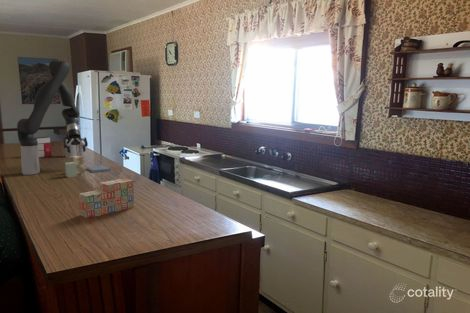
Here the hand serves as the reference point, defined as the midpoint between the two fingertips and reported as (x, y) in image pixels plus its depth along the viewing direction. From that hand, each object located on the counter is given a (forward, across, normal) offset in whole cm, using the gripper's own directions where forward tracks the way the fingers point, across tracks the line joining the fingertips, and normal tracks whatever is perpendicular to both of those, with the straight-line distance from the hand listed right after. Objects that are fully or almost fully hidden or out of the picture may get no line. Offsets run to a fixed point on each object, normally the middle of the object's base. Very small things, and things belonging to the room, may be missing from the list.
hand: (76, 151), depth 239 cm
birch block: (+14, 0, +3) cm, 14 cm away
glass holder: (-32, +5, +49) cm, 59 cm away
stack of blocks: (+76, 0, -59) cm, 96 cm away
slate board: (+12, +12, +5) cm, 17 cm away
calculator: (-37, -17, +54) cm, 68 cm away
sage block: (+20, -6, -3) cm, 21 cm away
